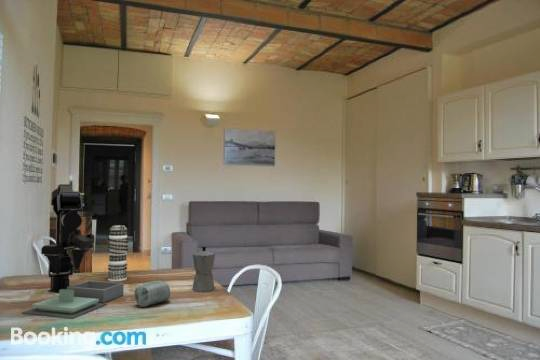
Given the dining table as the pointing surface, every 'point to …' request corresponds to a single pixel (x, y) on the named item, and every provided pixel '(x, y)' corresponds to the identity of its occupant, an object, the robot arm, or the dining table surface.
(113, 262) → the decorative candle
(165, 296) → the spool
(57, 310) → the lid
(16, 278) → the dining table surface
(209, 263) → the coffeepot
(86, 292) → the tub
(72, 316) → the mat
